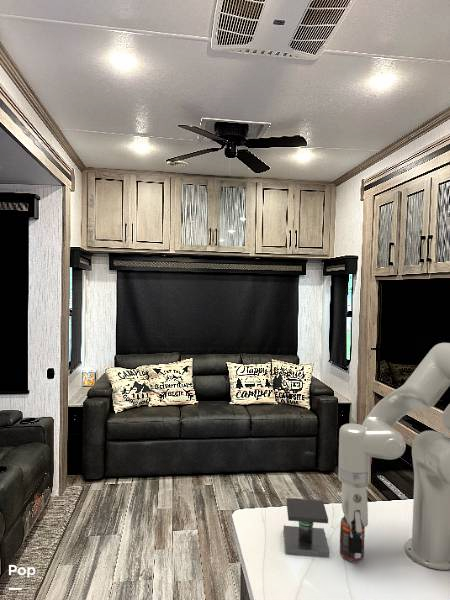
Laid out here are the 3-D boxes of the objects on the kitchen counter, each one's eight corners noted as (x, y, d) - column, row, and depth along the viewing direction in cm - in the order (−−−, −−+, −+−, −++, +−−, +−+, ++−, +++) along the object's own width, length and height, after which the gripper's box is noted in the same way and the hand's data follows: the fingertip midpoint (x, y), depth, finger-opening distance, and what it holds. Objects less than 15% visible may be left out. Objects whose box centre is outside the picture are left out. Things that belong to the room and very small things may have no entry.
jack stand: (323, 533, 122) (324, 499, 122) (329, 557, 112) (330, 520, 111) (283, 530, 123) (284, 497, 123) (285, 554, 112) (286, 517, 112)
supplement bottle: (365, 564, 109) (366, 519, 109) (340, 561, 110) (341, 516, 110) (362, 550, 115) (363, 507, 115) (339, 547, 116) (340, 504, 116)
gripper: (377, 490, 103) (375, 566, 104) (361, 461, 120) (359, 527, 121) (344, 489, 104) (343, 564, 104) (333, 460, 121) (331, 525, 121)
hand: (352, 543), depth 112 cm, fingers closed on supplement bottle, 6 cm apart
